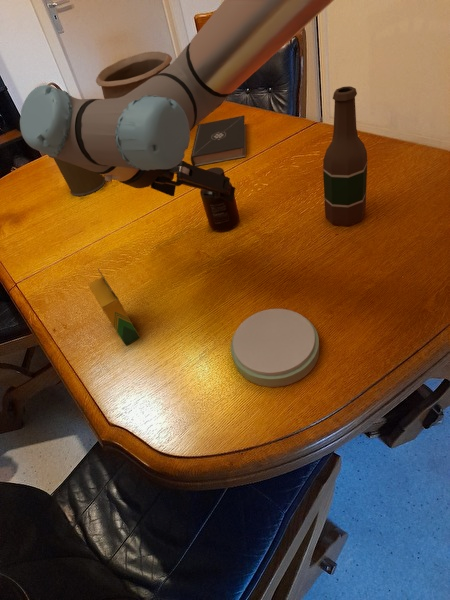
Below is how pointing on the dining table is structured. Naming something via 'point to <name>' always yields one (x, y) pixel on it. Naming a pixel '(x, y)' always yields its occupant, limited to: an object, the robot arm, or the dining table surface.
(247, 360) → the scale
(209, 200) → the supplement bottle
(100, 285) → the crayon box
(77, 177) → the canister
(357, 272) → the dining table surface
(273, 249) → the dining table surface
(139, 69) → the planter
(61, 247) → the dining table surface
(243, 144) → the book
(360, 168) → the beer bottle
